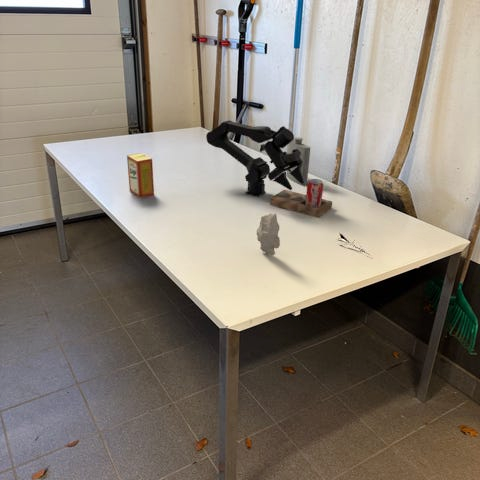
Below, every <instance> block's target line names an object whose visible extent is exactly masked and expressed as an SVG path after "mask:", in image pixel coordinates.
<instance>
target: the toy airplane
mask: <svg viewBox="0 0 480 480" xmlns="http://www.w3.org/2000/svg"><path fill="white" fill-rule="evenodd" d="M339 236H340V238H339V239H342V240H343V241H342V242H344V241H345V242H346V243H345V242H344V243H345V244H347V243H348V244H350V245H352V246H353V247H355V248H357V249H359V250H360V251H362V252H364V253H366V254H368V255H370V254H369V253H367V251H365V250H364V249H363V248H362V249H360V248H358V247H356V246H355V245H353V244H352V242H350V241H349V240H348V239H347V238H346V237H345V236H344V235H343V234H342V233H340V232H339ZM348 244H347V245H348Z"/></svg>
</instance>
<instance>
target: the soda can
mask: <svg viewBox="0 0 480 480" xmlns="http://www.w3.org/2000/svg"><path fill="white" fill-rule="evenodd" d="M323 191H324V183H323V180H321V179H318V178H311V179H309V180H308V181H307V185H306V194H305V195H306V203H305V205H308V206H311V207H315V208H320V207H321V201H322V199H323V193H324V192H323Z"/></svg>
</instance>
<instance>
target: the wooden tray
mask: <svg viewBox="0 0 480 480" xmlns="http://www.w3.org/2000/svg"><path fill="white" fill-rule="evenodd" d="M305 203H306V194H303V193H299V192H297V191H291V190H289V189H288V190H287V189H283V190H281V191H279V192H278V193H276V194H275V195H273V196H271V197H270V198H269V205H270V206H271V207H272V206H274V207H277V208H280V209H284V210H288V211H292V212H296V213H299V214H303V215H306V216H310V217H314V218H317V219H320V218H321V217H323V216H324V215H325V214H326V213H327V212H329V211H330V210H331V209H332V208H333V207H332V206H333V201H332V200H328V199H323V198H322V201H321V207H320V208H315V207H311V206H308V205H305Z"/></svg>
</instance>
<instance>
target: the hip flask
mask: <svg viewBox="0 0 480 480" xmlns="http://www.w3.org/2000/svg"><path fill="white" fill-rule="evenodd" d="M303 140H304V138H303V137H300V136H299V137H294V140H292V141H291V142H290V143H289V144H288V150H287V154H290V153H292V150H294V149H298V150H299V151H300V152H301V155H300V158H301V160H302V161H303V163H302V166H301V174H302V177H303V181H304V183H303V184H301V183H300V182H299V181H297V180H296V179H295V178H294V177H293V176H292V175H291V174H290V171H288V170H287V171H286V178H287V179H288V180H290V181H292V182H293V183H296V184H297V185H299V186H302V187H307V183H308V178H309V177H308V174H309V167H310V166H309V165H310V157H311V146H309V145H306V144H304V143H303Z"/></svg>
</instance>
